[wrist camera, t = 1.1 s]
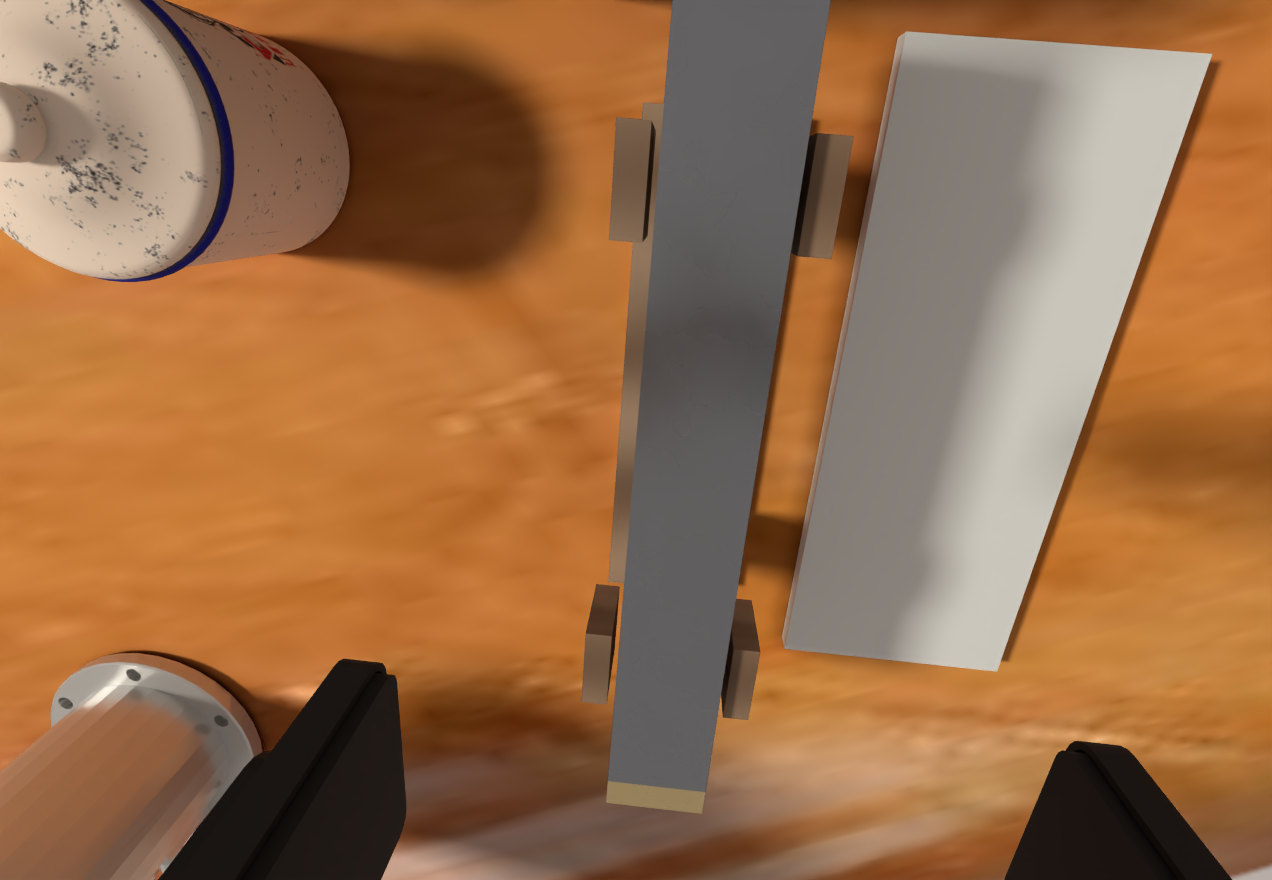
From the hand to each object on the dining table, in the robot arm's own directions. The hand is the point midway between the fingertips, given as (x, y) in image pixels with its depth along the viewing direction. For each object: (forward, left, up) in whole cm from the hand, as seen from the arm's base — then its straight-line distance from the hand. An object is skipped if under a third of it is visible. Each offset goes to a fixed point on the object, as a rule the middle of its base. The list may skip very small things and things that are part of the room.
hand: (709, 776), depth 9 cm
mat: (0, -12, -22) cm, 25 cm away
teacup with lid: (+8, +21, -23) cm, 32 cm away
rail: (0, 0, -14) cm, 14 cm away
